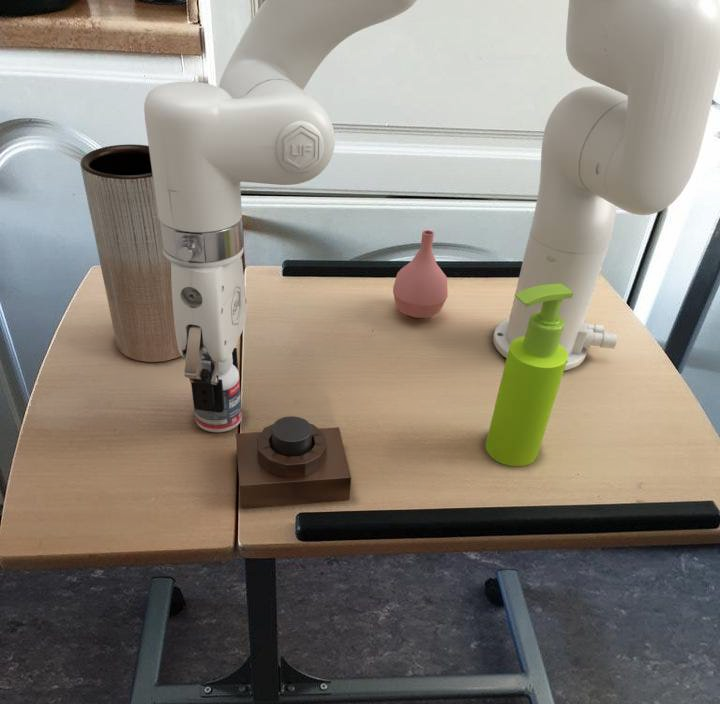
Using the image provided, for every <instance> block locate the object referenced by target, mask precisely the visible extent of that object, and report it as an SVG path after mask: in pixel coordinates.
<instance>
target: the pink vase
mask: <svg viewBox="0 0 720 704" xmlns="http://www.w3.org/2000/svg"><path fill="white" fill-rule="evenodd" d="M434 235H435V232H434V231H433V230H430V229H425V230H422V233H421V240H420V247H419V249H418V252H416V254H415V255H414V257H413V258H412V260H410V261H409V262H408V263H407V264H405V265H404V266H403V267H402V268H400V269H399V271H397V272H396V277H395V280H394V283H393V287H392V293H393V298H394V303H395V307H396V308H397V310H398V311H399V312H401V313H402V314H404V315H407V316H409V317H412V318H416V319H421V318H430V317H435V316H436V315H438V314H439V313H441V310H442V308H443V307H444V305H445V303H446V301H447V299H448V296H449V293H448V277H447V275H446V274H445V273H444V271H443V270H442V269H441V267H440V266H439V265H438V263H437V261H436V258H435V255H434V252H433V244H434Z"/></svg>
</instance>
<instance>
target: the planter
mask: <svg viewBox="0 0 720 704" xmlns="http://www.w3.org/2000/svg"><path fill="white" fill-rule="evenodd" d="M79 165H80V170H81V176H82V181H83V185H84V190H85V195H86V200H87V205H88V210H89V215H90V221H91V226H92V229H93V235H94V239H95V244H96V249H97V255H98V259H99V264H100V268H101V275H102V279H103V284H104V289H105V295H106V299H107V305H108V308H109V313H110V319H111V324H112V328H113V334H114V338H115V339H114V340H115V342H116V345H117V348H118V350H119V352H121V353H122V354H123V355H124V356H126V357H128V358H129V359H133V360H136V361H141V362H147V363H156V362H157V363H158V362H166V361H170V360H171V361H172V360H173V359H176V358H179V357H182V356H181V354H180V353H179V349H178V345H177V339H176V333H175V324H174V314H173V301H172V284H171V261H170V260H168V259H167V258H166V257H165V256H164V254H163V248H162V241H161V234H160V227H159V219H158V211H157V204H156V196H155V189H154V182H153V174H152V167H151V160H150V152H149V145H145V144H134V143H133V144H130V143H129V144H113V145H108V146H103V147H100V148H96V149H93V150H92V151H89V152H88V153H86V154H84V156H82V158H81V160H80V164H79Z"/></svg>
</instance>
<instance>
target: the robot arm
mask: <svg viewBox="0 0 720 704" xmlns="http://www.w3.org/2000/svg"><path fill="white" fill-rule="evenodd" d="M417 1H418V0H264V1H263V2H262V3H261V5H260V7H258V10H257V11H256V13H254V16H253V17H252V19H251V21H250V22H249V24H248V25H247V28H246V29H245V31H244V33H243V35H242V36H241V38H240V40H239V42H238V44H237V46H236V48H235V50H234V51H233V53H232V55H231V56H230V59H229V60H228V62H227V64H226V67H225V68H224V71H223V73H222V76H221V78H220V81H219V84H218V86H217V85H214V84H211V83H206V82H198V81H175V82H173V81H172V82H168V83H164V84H161V85H160V84H159V85H158V86H155V87H154V88H153V89H151V90H150V91H149V92H148V94H147V95H146V97H145V100H144V103H143V104H144V105H143V112H144V123H145V129H146V138H147V144H148V145H147V146H149V152H150V160H151V167H152V174H153V182H154V189H155V196H156V204H157V211H158V219H159V227H160V234H161V241H162V248H163V254H164V256H165V257H166V258H167V259H168V260H170V261H171V284H172V301H173V314H174V324H175V333H176V339H177V345H178V349H179V353H180V354H181V356H180V357H182V358H184V359H185V361H184V370H183V371H184V372H183V375H184V377H185V378H186V379H188V381H189V382H190V386H191V395H192V402H193V409H194V408H195V409H197V410H203V411H211V412H218V413H222V412H223V410H224V397H223V385H222V380H220V379H219V362H220V363H223V362H225V361H226V360H228V358H229V357H230V356H231V354H232V359H233V365H234V366H235V367H236V368H237V370H238V371H239V363H238V348H237V347H236V346H237V343H238V341H239V339H240V337H241V335H242V333H243V331H244V328H245V326H246V323H247V319H248V302H247V293H246V283H245V275H244V273H245V272H244V266H243V257H242V256H243V254H244V251H245V245H244V227H243V226H244V224H243V213H242V212H243V211H242V189H241V188H242V187H241V183H254V184H265V185H275V186H276V185H277V186H278V185H279V186H293V185H299V184H303V183H306V182H309V181H311V180H313V179H315V178H316V177H318V176H319V175H320V174H322V172H323V171H324V170H325V169H326V168H327V167H328V166H329V163H330V162H331V160H332V158H333V155H334V151H335V145H336V144H335V143H336V136H335V130H334V129H335V128H334V126H333V122H332V121H331V118H330V116H329V114H328V113H327V111H326V110H325V109H324V107H323V106H322V105H321V104H320V103H319V102H318V100H316V99H315V98H314V97H313V96H311V95H310V94H309V93H307V92H306V91H305V88H306V86H307V85H308V83H309V82H310V80H311V78H312V76H313V75H314V74H315V72H316V70H317V69H318V68H319V67H320V65H321V63H323V61H324V60H325V59H326V57H328V55H329V54H330V53H331V52H332V51H333V50H334V49H335V48H336V47H338V46H339V45H340V44H341V43H343V42H344V41H345V40H346V39H348V38H349V37H351V36H352V35H354V34H356V33H358V32H360V31H362V30H364V29H368V28H369V27H373V26H376V25H377V24H381V23H384V22H386V21H388V20H392V19H393V18H395V17H397V16H399V15H401V14H402V13H405V12H406V11H408V10H409V9H411V8H412V7H413V6H414V5H415V4H416V2H417ZM567 9H568V10H567V20H566V33H565V53H566V56H567V57H566V58H567V60H568V62H569V64H570V66H571V67H572V68H573V69H574V70H575V71H576V72H577V73H579V74H580V75H582V76H583V77H586V78H587V79H590V80H591V81H594V82H596V83H598V84H600V85H603V86H598V85H589V86H582V87H580V88H576V89H575V90H572V91H570V92H569V93H567V94H566V95H565V96H564V97H563V98H562V99H560V100H559V101H558V102H557V104H556V105H555V106H554V108H553V109H552V111H551V113H550V115H549V117H548V118H547V122H546V124H545V128H544V130H543V135H542V142H541V151H540V173H539V174H540V175H539V186H538V192H537V198H536V204H535V208H534V212H533V217H532V221H531V227H530V230H529V234H528V237H527V242H526V246H525V249H524V256H523V259H522V264H521V268H520V272H519V276H518V279H517V280H518V281H517V283H516V284H517V285H516V289H515V292H514V297H513V301H512V306H511V309H510V314H509V317H508V318H507V319H505V320H503V321H501V322H500V323H498V324H497V326H496V327H495V329H494V332H493V336H492V337H493V339H492V341H493V342H492V343H493V345H494V347H495V349H496V351H498V352H499V354H501V356H502V357H504V358H506V359H507V355H508V351H509V347H510V344H511V342H512V341H513V340H515V339H516V338H519V337H522V336H525V335H526V331H527V327H528V323H529V319H530V317H531V315H532V314H534V313H536V312H541V308H542V304H543V302H540V303H537V304H534V305H531V306H529V307H527V306H526V305H525V304H523V303H522V302H521V301H520V300H519V299H518V298H517V297H516V296H515V294H516V293H518V292H520V291H523V290H525V289H528V288H531V287H535V286H540V285H548V284H563V285H564V286H565V287H567V288H568V289H569V290H570V291H572V292H573V296H572V298H569V299H563V300H562V303H561V307H560V310H559V314H558V316H559V317H561V318H562V319H563V321H564V328H563V331H562V335H561V338H560V341H559V344H560V345H561V346H563V347H564V349H565V350H566V351H567V354H568V359H567V363H566V366H565V369H564V372H565V371H568V370H572V369H575V368H576V367H578V366H580V365H581V364H582V363H583V362H584V360H585V358H586V356H587V353H588V349H590V348H591V347H598V348H603V349H611V350H614V349H615V348H616V345H617V341H618V335H617V334H616V333H610V332H605V330H606V329H605V325H603V324H590V323H588V322H587V321H586V318H587V314H588V311H589V308H590V304H591V301H592V299H593V296H594V292H595V289H596V286H597V283H598V280H599V277H600V273H601V270H602V267H603V264H604V260H605V259H606V255H607V251H608V249H609V246H610V242H611V239H612V236H613V233H614V228H615V224H616V216H617V208H619V209H620V210H622V211H625V212H626V213H629V214H632V215H637V216H650V215H655V214H657V213H660V212H662V211H664V210H665V209H666V208H668V207H670V205H672V204H673V203H675V201H676V200H677V199H678V198H679V196H680V195H681V194H682V193H683V191H684V190H685V188H686V187H687V185H688V183H689V181H690V179H691V177H692V175H693V173H694V170H695V168H696V165H697V162H698V158H699V155H700V151H701V149H702V144H703V140H704V137H705V132H706V128H707V124H708V120H709V117H710V112H711V107H712V104H713V99H714V95H715V92H716V87H717V82H718V79H719V74H720V3H719V2H718V0H568V7H567ZM203 348H206V350H207V352H203ZM201 360H204V361H211V372H210V371H209V370H208V369H203V368H202V366H201Z"/></svg>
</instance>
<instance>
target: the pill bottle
mask: <svg viewBox="0 0 720 704" xmlns="http://www.w3.org/2000/svg"><path fill="white" fill-rule="evenodd" d="M203 352H207V350H206V348H203ZM201 366H202V368H203V369H208V370H209V371H210V372H211V361H204V360H201ZM219 379H220V380H222V385H223V397H224V410H223V412H222V413H218V412H211V411H203V410H197V409H195V408H194V407H193V409H194V410H193V411H194V419H195V423H196V425H197V426H198V427H199V428H201V429H202V430H204V431H207V432H211V433H225V432H229V431H231V430H233V429H235V428H236V427H237V426H239V425H240V423H241V422H242V418H243V410H242V397H241V381H240V373H239V369H238V370H237V368H236V367H235V366H234V365H233V359H232V354H231V356H230V357H229V358H228V360H226V361H225V362H223V363H220V362H219Z"/></svg>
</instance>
